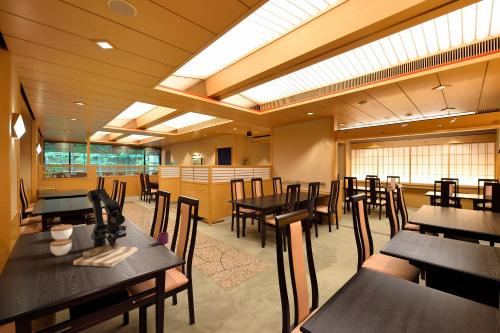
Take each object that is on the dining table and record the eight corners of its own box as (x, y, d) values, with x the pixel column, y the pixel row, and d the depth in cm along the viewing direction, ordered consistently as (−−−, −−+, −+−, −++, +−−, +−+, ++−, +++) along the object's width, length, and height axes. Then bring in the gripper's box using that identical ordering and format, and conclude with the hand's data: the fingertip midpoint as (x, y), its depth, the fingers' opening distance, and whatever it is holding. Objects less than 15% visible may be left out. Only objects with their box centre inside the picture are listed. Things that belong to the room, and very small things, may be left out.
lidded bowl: (75, 238, 172) (75, 223, 172) (54, 243, 161) (54, 227, 161) (68, 235, 179) (68, 221, 179) (48, 239, 168) (48, 224, 168)
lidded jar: (73, 253, 143) (73, 238, 143) (51, 258, 135) (51, 243, 135) (70, 249, 150) (70, 235, 150) (49, 253, 142) (49, 238, 142)
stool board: (73, 264, 128) (73, 260, 128) (104, 248, 152) (104, 245, 152) (111, 266, 125) (111, 262, 125) (137, 250, 149) (137, 247, 149)
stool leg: (85, 258, 130) (85, 253, 130) (81, 257, 132) (81, 252, 132) (118, 247, 148) (118, 242, 148) (114, 246, 149) (114, 241, 149)
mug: (170, 242, 166) (170, 232, 166) (160, 246, 156) (160, 236, 156) (162, 240, 168) (162, 231, 168) (152, 245, 159) (152, 235, 159)
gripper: (133, 220, 147) (134, 245, 147) (115, 218, 155) (115, 241, 155) (117, 225, 137) (117, 251, 137) (98, 222, 145) (98, 246, 145)
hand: (112, 247), depth 144 cm, fingers closed
